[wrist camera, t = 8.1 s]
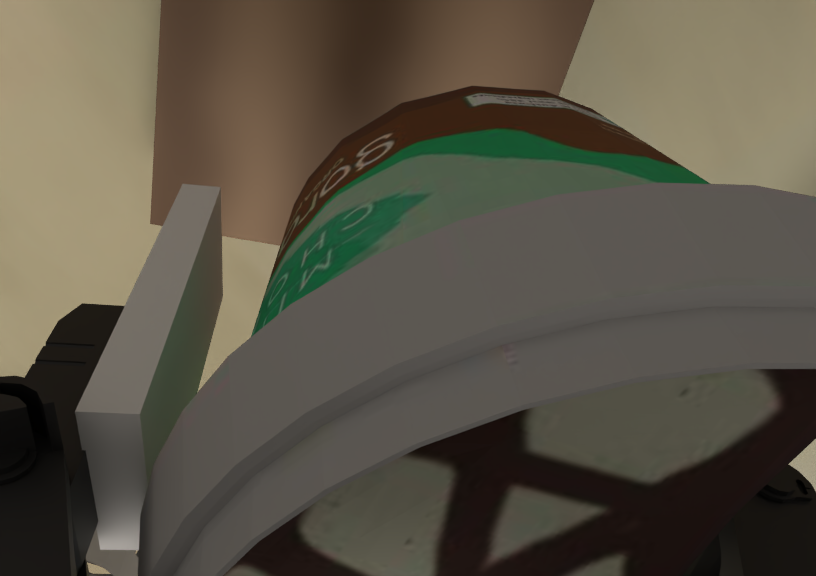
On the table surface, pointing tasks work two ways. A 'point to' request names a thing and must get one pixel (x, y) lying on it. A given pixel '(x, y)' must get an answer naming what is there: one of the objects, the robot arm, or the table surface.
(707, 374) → the food container
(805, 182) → the table surface
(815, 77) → the table surface
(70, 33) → the table surface
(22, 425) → the robot arm
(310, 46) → the walnut block
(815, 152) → the table surface
